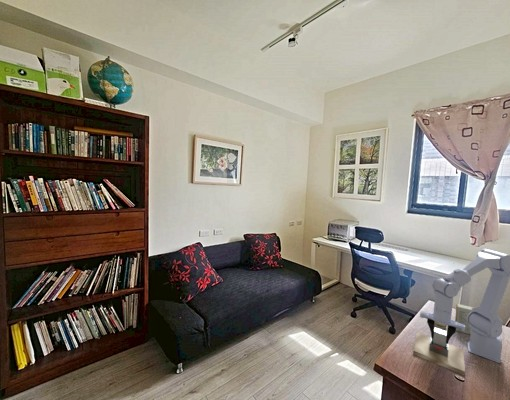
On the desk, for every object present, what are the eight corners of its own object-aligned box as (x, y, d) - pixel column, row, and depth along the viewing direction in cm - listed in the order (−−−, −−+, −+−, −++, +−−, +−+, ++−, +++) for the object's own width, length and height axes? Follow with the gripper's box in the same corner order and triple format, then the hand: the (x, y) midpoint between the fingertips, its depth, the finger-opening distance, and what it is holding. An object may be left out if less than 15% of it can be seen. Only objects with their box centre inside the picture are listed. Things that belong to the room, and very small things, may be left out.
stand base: (462, 352, 99) (462, 349, 98) (464, 375, 86) (465, 371, 86) (416, 335, 109) (417, 332, 109) (413, 353, 96) (413, 350, 96)
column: (444, 349, 98) (446, 331, 97) (444, 354, 94) (446, 335, 94) (432, 344, 100) (434, 327, 100) (432, 349, 97) (434, 331, 96)
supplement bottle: (448, 329, 114) (451, 310, 114) (436, 328, 115) (438, 309, 115) (442, 323, 120) (444, 305, 119) (430, 321, 121) (432, 303, 120)
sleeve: (447, 349, 98) (448, 342, 98) (447, 358, 93) (448, 351, 92) (429, 342, 102) (430, 336, 101) (429, 350, 96) (429, 344, 96)
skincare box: (470, 330, 114) (473, 306, 113) (472, 335, 111) (475, 310, 110) (453, 326, 118) (456, 302, 117) (455, 330, 114) (457, 306, 113)
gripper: (420, 305, 98) (417, 336, 99) (467, 319, 88) (463, 353, 89) (421, 299, 103) (419, 328, 104) (465, 312, 94) (462, 344, 95)
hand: (439, 339), depth 97 cm, fingers closed on column, 4 cm apart
